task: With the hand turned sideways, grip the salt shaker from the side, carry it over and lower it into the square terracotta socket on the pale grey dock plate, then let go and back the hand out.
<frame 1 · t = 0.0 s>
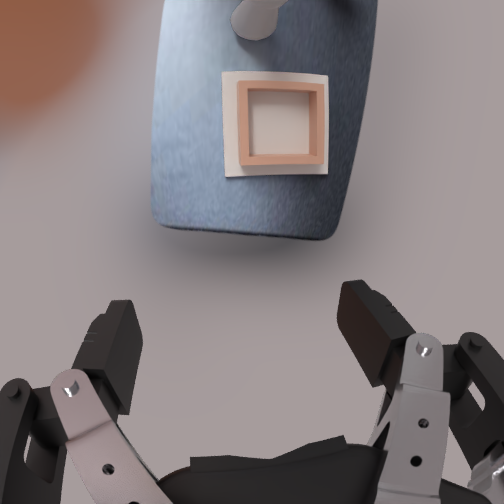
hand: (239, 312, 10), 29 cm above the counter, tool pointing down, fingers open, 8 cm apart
dock: (276, 122, 35), on the counter
salt shaker: (251, 27, 29), on the counter
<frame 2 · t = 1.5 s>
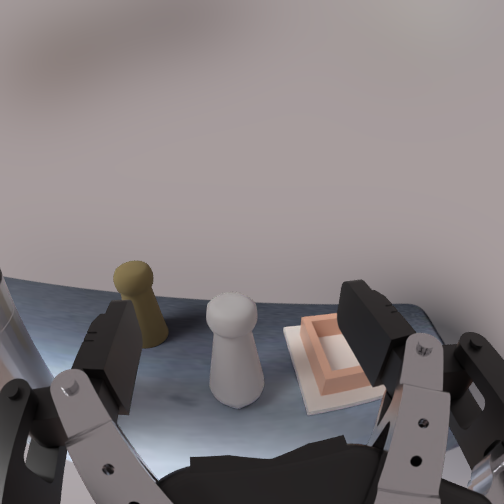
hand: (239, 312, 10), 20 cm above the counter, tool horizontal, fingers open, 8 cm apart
dock: (347, 360, 33), on the counter
pepper shaker: (148, 334, 38), on the counter
salt shaker: (237, 395, 29), on the counter
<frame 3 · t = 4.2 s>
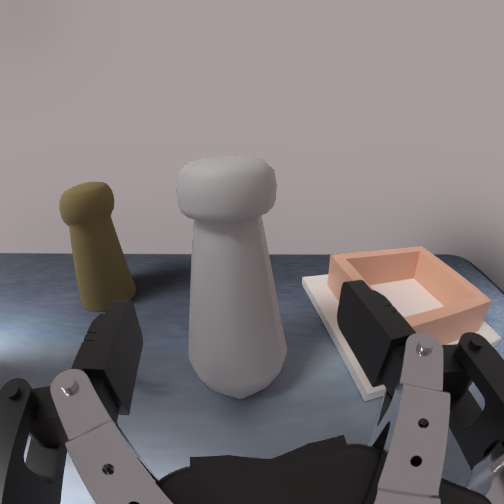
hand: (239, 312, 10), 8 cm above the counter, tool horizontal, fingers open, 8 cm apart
dock: (401, 316, 21), on the counter
pepper shaker: (108, 296, 26), on the counter
salt shaker: (239, 376, 17), on the counter
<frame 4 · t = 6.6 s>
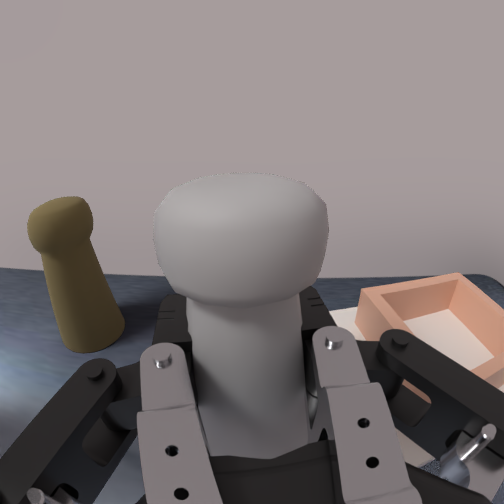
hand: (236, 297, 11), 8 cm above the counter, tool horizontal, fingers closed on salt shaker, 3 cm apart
dock: (438, 359, 16), on the counter
pepper shaker: (93, 330, 21), on the counter
salt shaker: (252, 450, 12), on the counter, touching gripper
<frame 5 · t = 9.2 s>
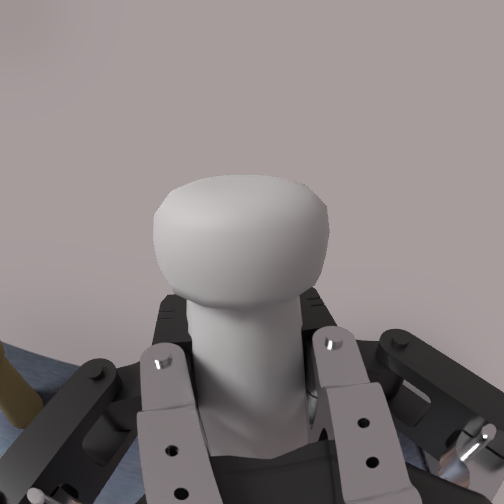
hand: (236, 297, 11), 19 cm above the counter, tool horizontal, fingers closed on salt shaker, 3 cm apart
pepper shaker: (25, 410, 21), on the counter
salt shaker: (252, 451, 12), point 11 cm above the counter, touching gripper
when the fingers open (10 cm above the counter, at t = 11.9 s): salt shaker drops 1 cm, resting on dock.
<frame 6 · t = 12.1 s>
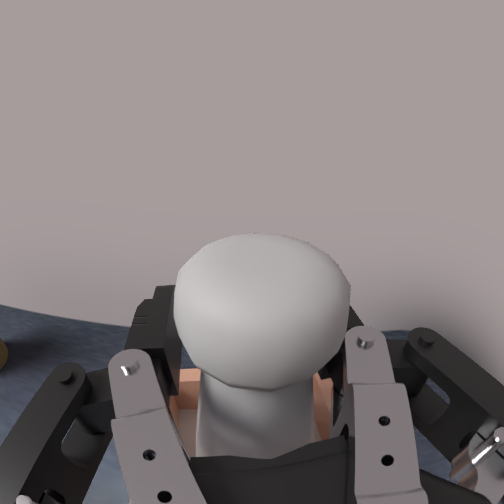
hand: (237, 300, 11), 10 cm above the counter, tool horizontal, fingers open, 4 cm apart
dock: (252, 465, 13), on the counter
salt shaker: (253, 462, 13), point 1 cm above the counter, touching dock
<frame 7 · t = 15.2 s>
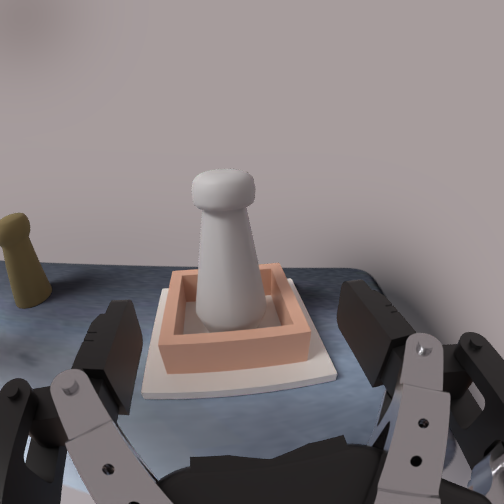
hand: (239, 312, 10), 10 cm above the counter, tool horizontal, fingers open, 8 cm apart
dock: (232, 332, 25), on the counter
pepper shaker: (34, 296, 29), on the counter
salt shaker: (232, 328, 24), point 1 cm above the counter, touching dock
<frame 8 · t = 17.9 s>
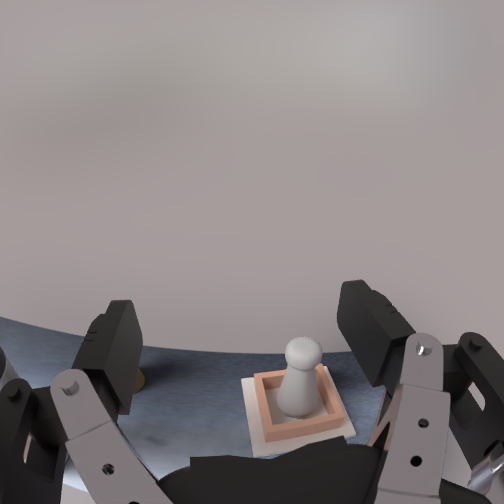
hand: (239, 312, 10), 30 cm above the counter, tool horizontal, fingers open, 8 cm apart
dock: (294, 410, 37), on the counter
salt shaker: (295, 408, 36), point 1 cm above the counter, touching dock
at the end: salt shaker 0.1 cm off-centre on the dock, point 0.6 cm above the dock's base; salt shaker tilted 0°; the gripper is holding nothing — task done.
